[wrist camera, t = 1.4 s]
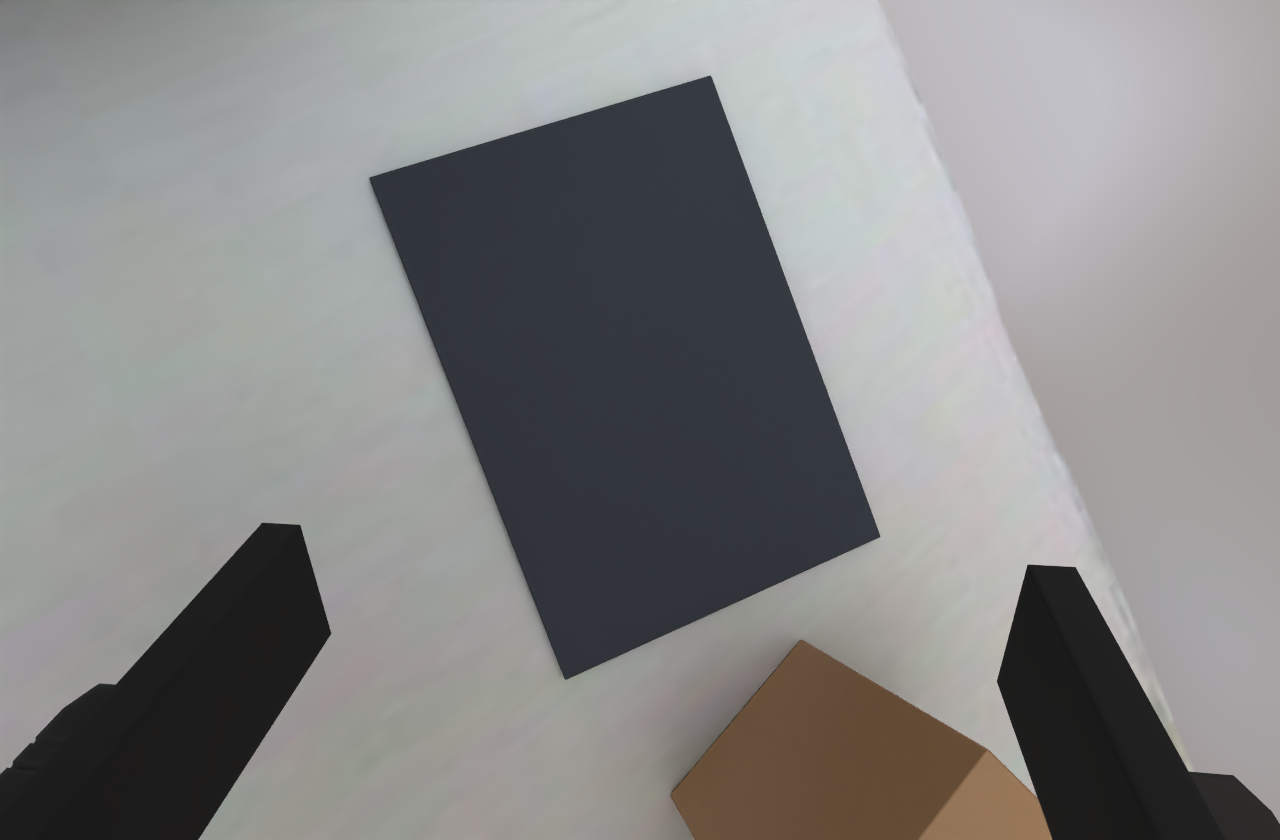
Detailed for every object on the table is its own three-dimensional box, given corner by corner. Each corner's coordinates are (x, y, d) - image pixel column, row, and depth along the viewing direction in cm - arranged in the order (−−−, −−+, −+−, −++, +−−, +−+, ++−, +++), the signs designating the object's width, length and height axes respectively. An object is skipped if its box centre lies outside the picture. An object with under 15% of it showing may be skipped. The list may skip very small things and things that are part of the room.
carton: (669, 795, 31) (789, 1008, 19) (801, 638, 32) (988, 748, 21) (774, 890, 32) (952, 1151, 20) (899, 733, 33) (1133, 892, 21)
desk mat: (370, 180, 29) (369, 177, 29) (708, 79, 32) (711, 75, 32) (564, 677, 30) (565, 680, 30) (876, 535, 33) (881, 536, 33)
